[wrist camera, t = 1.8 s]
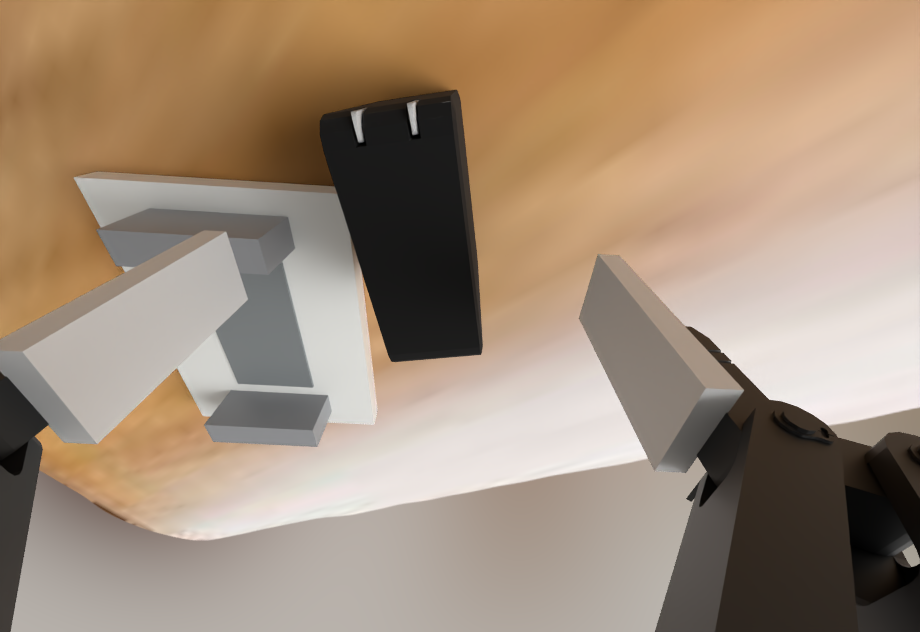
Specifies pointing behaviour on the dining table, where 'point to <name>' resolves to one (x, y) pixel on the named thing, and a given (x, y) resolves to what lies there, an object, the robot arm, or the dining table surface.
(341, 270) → the mounting board
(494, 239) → the dining table surface
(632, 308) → the robot arm
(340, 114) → the electronic device
